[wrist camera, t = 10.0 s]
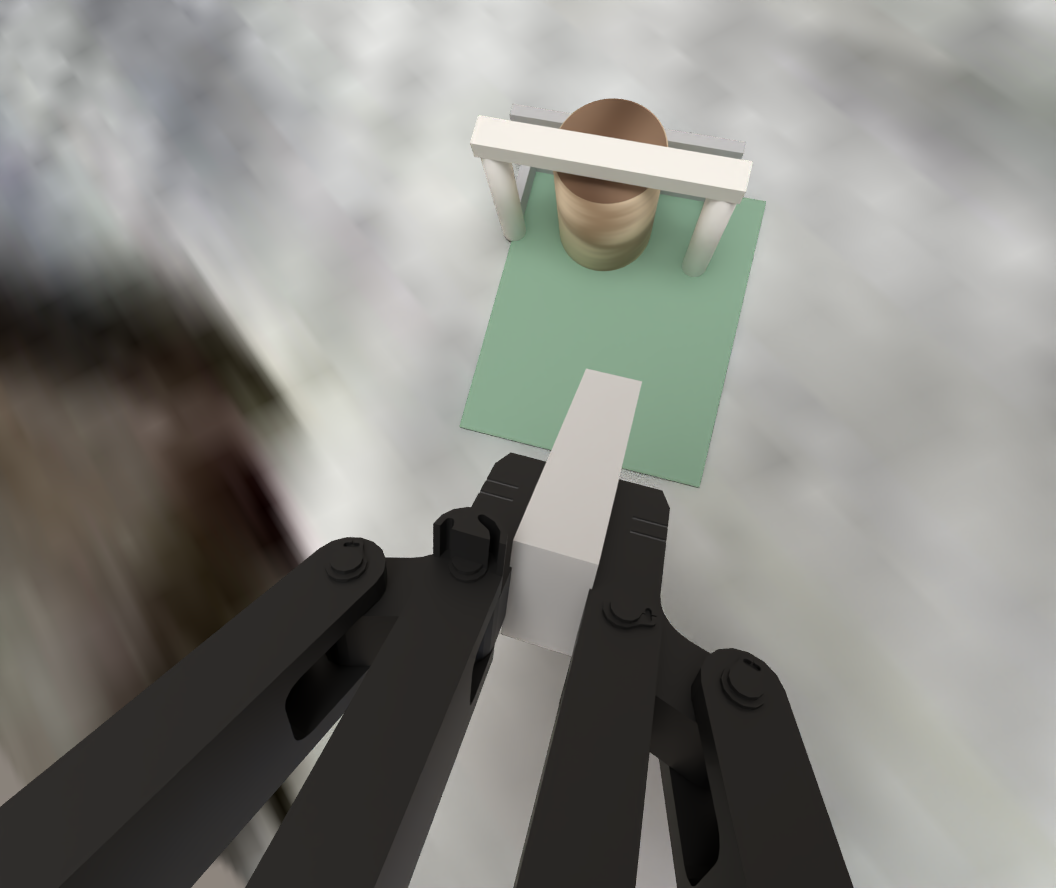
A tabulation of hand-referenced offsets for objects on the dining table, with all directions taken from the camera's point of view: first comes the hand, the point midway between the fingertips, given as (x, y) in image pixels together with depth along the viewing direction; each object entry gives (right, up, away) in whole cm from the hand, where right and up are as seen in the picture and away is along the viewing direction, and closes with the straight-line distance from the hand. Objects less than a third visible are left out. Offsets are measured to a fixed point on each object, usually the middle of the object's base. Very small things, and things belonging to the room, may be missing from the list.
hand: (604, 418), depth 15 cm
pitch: (+4, +9, +27) cm, 28 cm away
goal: (+4, +17, +27) cm, 32 cm away
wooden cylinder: (+4, +16, +27) cm, 32 cm away
